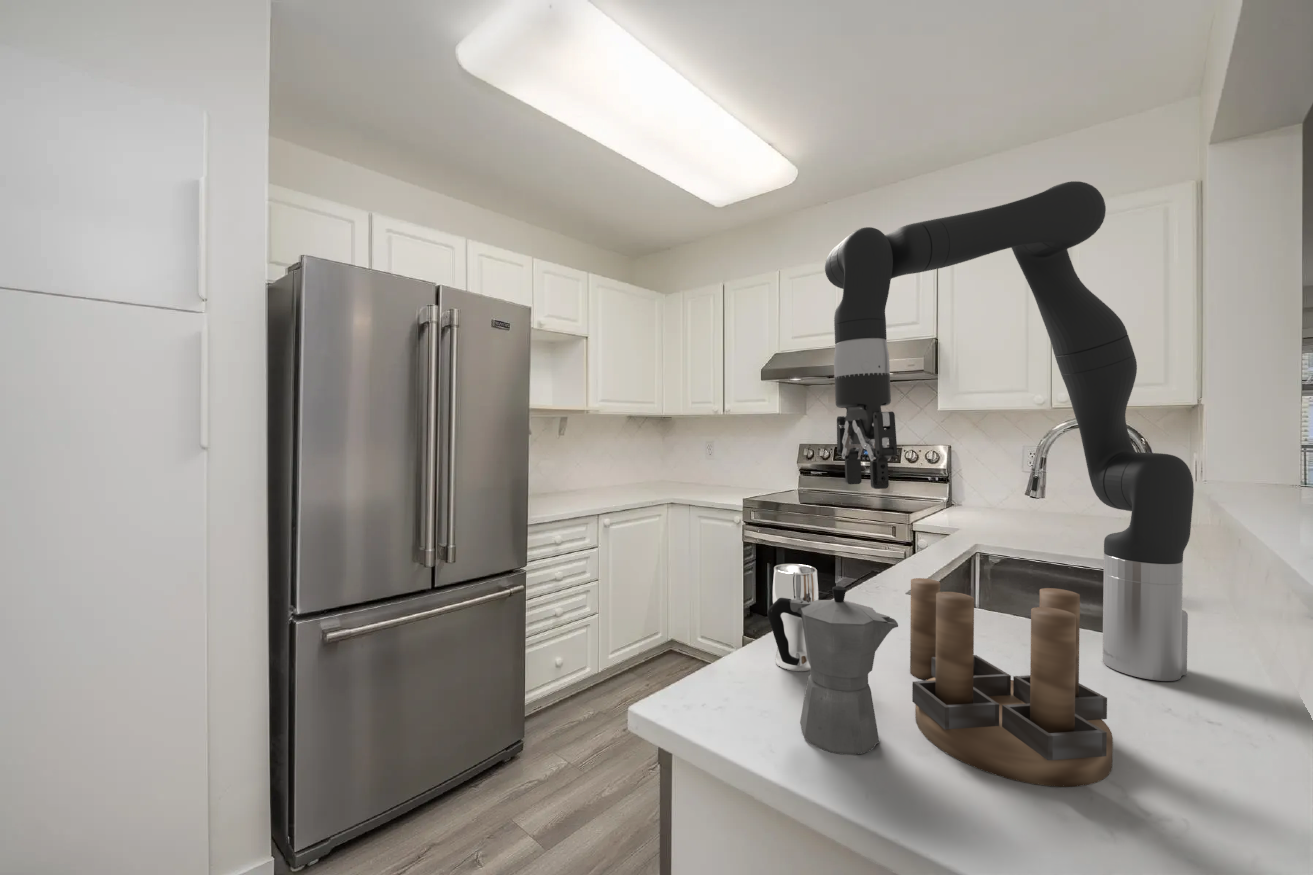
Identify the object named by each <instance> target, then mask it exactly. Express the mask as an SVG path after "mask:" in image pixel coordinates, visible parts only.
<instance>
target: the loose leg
mask: <svg viewBox="0 0 1313 875" xmlns="http://www.w3.org/2000/svg"><path fill="white" fill-rule="evenodd" d="M939 592H941V582H940V581H938V580H936V579H932V578H925V577H922V578H921V577H919V578H918V577H915V578H911V579H910V626H909V627H910V628H909V629H910V634H909V636H910V644H909V646H910V650H909V652H910V653H909V655H910V656H909V658H910V659H909V662H910V663H909V672H910V675H912V676H913V677H914V678H917V679H921V680H923V681H926V680H928V679H931V678H934V677H933V676H932V675H931V660H932V657H936V594H937V593H939Z"/></svg>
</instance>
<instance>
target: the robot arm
mask: <svg viewBox="0 0 1313 875" xmlns="http://www.w3.org/2000/svg"><path fill="white" fill-rule="evenodd" d="M1105 202H1106V201H1105V199H1104V197H1103V195H1102V193H1101V192H1100V191H1099V190H1098V188H1096V187H1095V186H1094V185H1091V184H1090V183H1087V182H1084V181H1079V180H1077V181H1076V180H1075V181H1066V182H1062V183H1060V184H1056V185H1054V186H1052V187H1050V188H1048V189H1046V190H1044V191H1042V192H1039V193H1036V194H1034V195H1030V196H1028V197H1025V198H1022V199H1021V198H1020V199H1018V200H1015V201H1012V202H1008V203H1005V204H1002V205H1001V204H1000V205H997V206H994V207H988V208H983V209H980V210H975V211H972V212H966V213H961V214H957V215H956V214H955V215H949V216H944V217H941V218H939V217H938V218H934V219H930V220H929V219H928V220H924V221H919V222H913V223H909V224H906V225H903V226H900V227H898V228H897V229H895V230H893V231H892V232H889V233H887V234H885V233H884V232H882V231H881V230H880V229H877V228H875V227H871V226H870V227H867V226H866V227H861V228H859V229H856V230H855V231H853V232H851V233H850V234H849V235H848V236H846V237H845V238H844V239H842V240H841V242H839V243H838V244H837V245H836V246H834V248H832V250H830V252H829V254H828V255H827V258H826V260H825V262H824V272H825V276H826V278H827V280H829V282H830V283H831V284H832V285H833V286H835V287H837V288H839V289H842V298H841V301H840V303H839V304H838V305H837V307H836V309H835V311H834V318H833V319H834V320H833V322H834V325H833V326H834V343H835V345H834V355H833V356H834V357H833V372H834V376H833V377H834V397H835V400H834V401H835V406H836V408H839V409H845V410H846V413H845V415H841V416H839V415H838V416H837V417H836V449H837V450H836V452H837V455H840V456H841V458H842V460H844V476H845V483H846V484H847V485H860V484H861V483H862V462H861V460H862V459H860V458H861V456H862V452H863V449H864V450H866V453H867V455H868V458H869V461H870V462H869V469H870V470H869V474H870V486H871V488H872V489H874V490H885V489H888V488H889V486H890V485H889V461H890V460H891V458H892V457H896V456H897V455H898V444H897V430H896V416H895V412H894V411H882V408H881V407H886V406H889V405H890V404H891V402H892V397H891V396H892V393H891V392H892V390H891V373H890V372H891V371H890V367H891V366H890V353H889V348H888V347H889V346H888V342H887V341H888V340H887V320H886V317H887V316H886V307H887V302H888V298H889V293H890V286H891V280H892V279H894V278H898V277H901V276H905V275H911V274H912V275H913V274H919V273H924V272H929V271H933V270H938V269H943V268H948V267H950V266H953V265H958V264H961V263H965V262H968V261H971V260H975V259H977V258H980V257H983V256H986V255H990V254H993V253H997V252H999V251H1004V250H1007V249H1011V250H1012V252H1013V255H1014V257H1015V259H1016V261H1017V263H1018V266H1019V267H1020V269H1021V271H1022V274H1023V275H1024V277H1025V279H1026V282H1027V284H1028V286H1029V288H1030V290H1031V293H1032V296H1034V300H1035V301H1036V304H1037V307H1038V310H1039V313H1040V316H1041V318H1042V321H1043V323H1044V327H1045V329H1046V332H1047V335H1048V337H1049V341H1050V343H1051V348H1052V351H1053V354H1054V358H1055V360H1056V361H1055V362H1056V363H1057V367H1058V369H1059V372H1060V375H1061V377H1062V380H1063V382H1064V384H1065V388H1066V391H1067V394H1068V397H1069V400H1070V403H1071V406H1072V410H1073V413H1074V416H1075V419H1076V423H1077V426H1078V431H1079V434H1080V439H1081V442H1082V447H1083V453H1084V456H1085V463H1086V468H1087V471H1088V472H1087V473H1088V476H1089V480H1090V484H1091V487H1092V490H1093V492H1094V493H1095V495H1096V496H1097V498H1098V499H1099V500H1100V502H1102V503H1103V504H1104V505H1106V506H1107V507H1110V508H1113V509H1115V510H1116V509H1117V510H1120V511H1121V510H1123V511H1127V512H1131V514H1130V515H1131V516H1130V522H1129V525H1128V527H1126V529H1124V530H1122V531H1119V532H1114V533H1113V532H1112V533H1110V534H1107V535H1106V536H1105V537H1104V541H1103V585H1102V586H1103V587H1102V588H1103V593H1102V594H1103V599H1102V601H1103V602H1102V605H1103V606H1102V609H1103V610H1102V615H1103V616H1102V662H1103V664H1104V665H1105V666H1107V667H1109V668H1110V669H1112V670H1114V671H1117V672H1120V673H1123V674H1126V675H1128V676H1132V677H1137V678H1141V679H1146V680H1151V681H1158V682H1159V681H1161V682H1172V681H1178V680H1180V679H1181V678H1182V676H1187V675H1188V634H1189V633H1188V632H1189V631H1188V627H1189V626H1188V625H1189V624H1188V623H1189V622H1188V621H1189V616H1188V612H1187V611H1186V610H1184V609H1183V578H1184V577H1183V566H1184V562H1183V561H1184V552H1185V550H1186V548H1187V545H1188V543H1189V541H1190V538H1191V528H1192V518H1193V506H1194V492H1195V491H1194V490H1195V488H1194V479H1193V475H1192V472H1191V469H1190V467H1189V466H1188V465H1187V463H1186V462H1185V461H1184V460H1183V459H1181V458H1180V457H1178V456H1176V455H1173V454H1168V453H1162V452H1161V453H1158V452H1157V453H1156V452H1141V451H1140V452H1139V451H1136V450H1135V448H1134V445H1133V442H1132V440H1131V437H1130V434H1129V432H1128V427H1127V420H1126V413H1127V412H1126V411H1127V407H1128V403H1129V401H1130V397H1131V394H1132V392H1133V388H1134V385H1135V383H1136V377H1137V373H1138V372H1137V370H1138V365H1137V359H1136V355H1135V351H1134V349H1133V345H1132V343H1131V339H1130V337H1129V334H1128V331H1127V329H1126V326H1125V323H1124V322H1123V320H1122V319H1121V318H1120V317H1119V315H1117V313H1115V311H1114V310H1113V309H1111V308H1110V307H1109V306H1108V305H1107V304H1106V303H1105V302H1104V301H1103V300H1101V299H1100V298H1099V297H1098V296H1097V295H1096V294H1094V293H1093V292H1092V291H1091V290H1090V289H1089V288H1087V286H1086V285H1085V284H1084V283H1083V282H1082V280H1080V278H1079V276H1078V274H1077V272H1076V271H1075V268H1074V265H1073V263H1072V260H1071V258H1070V255H1069V251H1068V249H1070V248H1071V249H1072V248H1073V247H1075V246H1077V245H1079V244H1082V243H1083V242H1085V241H1087V240H1089V239H1090V238H1091V237H1092V236H1093V235H1095V234H1096V233H1097V231H1098V230H1099V229H1101V226H1102V224H1103V223H1104V220H1105V217H1106V211H1107V209H1106V203H1105Z"/></svg>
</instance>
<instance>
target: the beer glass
mask: <svg viewBox="0 0 1313 875" xmlns="http://www.w3.org/2000/svg"><path fill="white" fill-rule="evenodd" d="M779 598H788V599H791V600H793V599H796V600H803V601H806V602H808V603H809V602H812V601H816V600H819V584H818V570H817V569H816V567H814V566H811V565H808V564H807V565H806V564H800V563H781V564H777V565H775V566H774V567H773V581H772V605H773V604H774V603H775V602H776V601H777V600H778V599H779ZM781 618H782V620H783V624H784V632H785V635H786V637H787V639H788V643H789V653H790V655H791V656H793V657H795V658H799V659H800V660H799V663H798V665H790V664H787V663H784V662H783V661H782V659H781V656H780V653H779V650H778V646H777V648H776V652H775V653H776V654H775V659H774V660H775V661H774V662H775V664H776V665H777V666H778V667H779V666H780V667H779V668H782V669H784V670H786V669H787V670H788V671H792V672H807V671H810V668H811V666H810V664H809V662H808V658H807V651H806V644H805V637H804V630H803V623H802V618H800V617H797V616H793V615H790V614H788V613H782V614H781ZM787 670H786V671H787Z"/></svg>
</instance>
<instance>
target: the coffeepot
mask: <svg viewBox="0 0 1313 875" xmlns="http://www.w3.org/2000/svg"><path fill="white" fill-rule="evenodd" d="M831 588H832V589H831V590H832V595H833V596H832V597H833V599H818V600H816V601H812V602H809V603H808V602H806V601H803V600H796V599H793V600H791V599H788V598H779V599H778V600H777V601H776V602H775V603H774V604H773V603H772V605H770V606H769V607H768V609H767V612H766V613H767V619H768V621H769V624H770V627H771V631H772V633H773V637H774V639H775V643H776V646H777V647H778V650H779V653H780V656H781V659H782V661H783V662H784V663H787V664H790V665H798V663H799V660H800V659H799V658H795V657H793V656H791V655H790V653H789V643H788V639H787V637H786V635H785V632H784V624H783V620H782V618H781V614H782V613H788V614H790V615H793V616H797V617H800V618H802V623H803V630H804V637H805V644H806V651H807V658H808V662H809V664H810V666H811V668H810V670H809V671H810V672H809V673H810V674H809V675H808V676H807V682H806V687H805V693H804V698H803V705H802V709H801V716H800V721H799V724H800V727H801V734H802V735H803V737H804V739H805V740H806V741H808V742H809V743H810V744H811V745H813V746H815V747H817V748H819V749H821V750H823V751H826V752H829V753H833V754H837V755H847V756H848V755H849V756H852V755H853V756H854V755H861V754H865V753H868V752H870V751H872V750H873V749H875V747H876V745H877V744H879V743H880V738H879V737H880V736H879V733H878V726H877V719H876V714H875V708H874V700H873V695H872V690H871V687H870V684H869V673H870V672H872V671H873V666H874V661H875V656H876V652H877V651H878V648H879V647H880V645H881V644H882V642H883V641H884V640H885V638H886V637H887V636H888V635H889V634H890V633H891V631H892V630H893V629H896V628H898V627H899V624H898V622H897V620H896V619H894V618H892V617H891V616H889V615H885V614H882V613H879V612H876V610H875V609H874V608H873V607H871V606H867V605H864V604H861V603H860V604H859V603H855V602H851V601H849V600H845V596H846V591H847V588H846V587H844V586H841V585H837V586H832V587H831Z"/></svg>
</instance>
